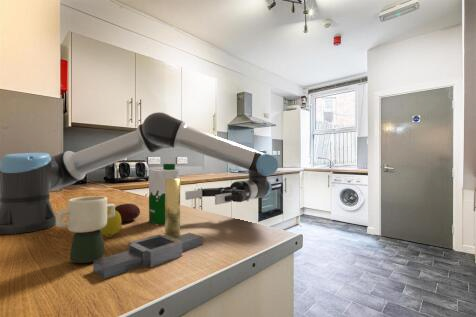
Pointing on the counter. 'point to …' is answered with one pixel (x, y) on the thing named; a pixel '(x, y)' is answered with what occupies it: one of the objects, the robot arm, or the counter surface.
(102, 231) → the lemon
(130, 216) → the potato
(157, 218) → the milk carton
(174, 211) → the link pin
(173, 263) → the counter surface
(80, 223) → the character mug
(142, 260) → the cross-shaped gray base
